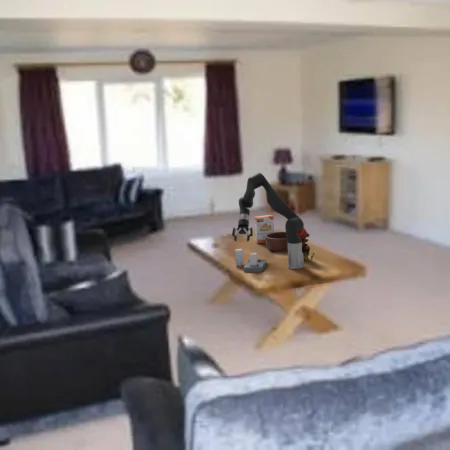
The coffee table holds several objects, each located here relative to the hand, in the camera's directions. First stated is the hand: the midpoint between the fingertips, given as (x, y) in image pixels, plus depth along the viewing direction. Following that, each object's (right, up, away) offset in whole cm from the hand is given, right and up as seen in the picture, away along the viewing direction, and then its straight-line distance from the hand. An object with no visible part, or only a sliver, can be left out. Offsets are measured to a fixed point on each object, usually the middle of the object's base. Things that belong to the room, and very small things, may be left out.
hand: (241, 240), depth 464 cm
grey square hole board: (+9, -17, -16) cm, 25 cm away
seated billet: (+8, -19, -21) cm, 29 cm away
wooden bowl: (+31, -7, +33) cm, 46 cm away
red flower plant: (+42, -13, -2) cm, 44 cm away
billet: (-2, -17, -8) cm, 18 cm away
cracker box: (+20, -3, +56) cm, 60 cm away
